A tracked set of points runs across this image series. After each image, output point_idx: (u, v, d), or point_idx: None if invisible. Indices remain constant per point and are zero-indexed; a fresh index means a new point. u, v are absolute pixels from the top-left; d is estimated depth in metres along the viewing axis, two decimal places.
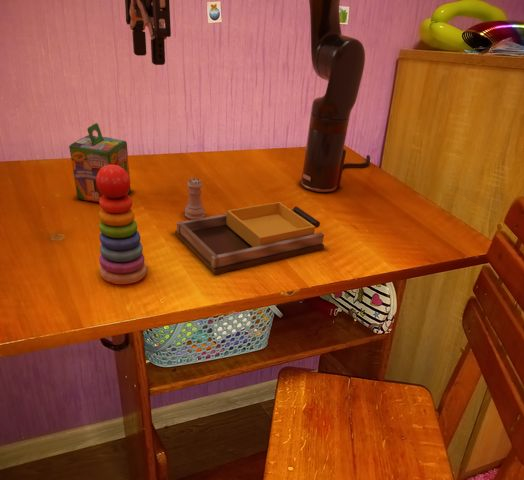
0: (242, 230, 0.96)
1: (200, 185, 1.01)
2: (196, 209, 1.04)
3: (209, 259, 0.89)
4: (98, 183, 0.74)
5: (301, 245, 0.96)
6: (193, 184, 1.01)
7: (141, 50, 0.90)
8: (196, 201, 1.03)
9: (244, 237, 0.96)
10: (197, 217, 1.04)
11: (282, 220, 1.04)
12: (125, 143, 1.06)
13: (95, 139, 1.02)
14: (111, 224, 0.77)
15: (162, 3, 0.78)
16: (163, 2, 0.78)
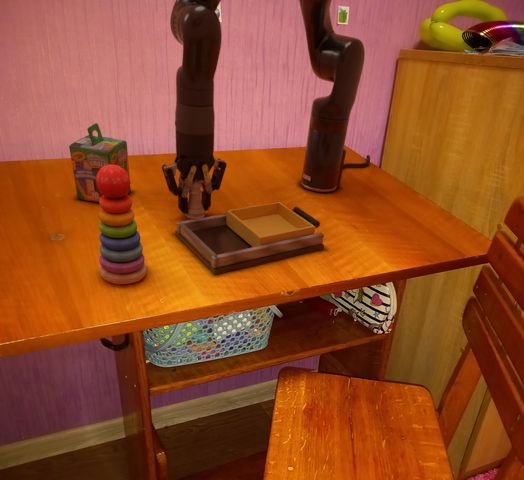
0: (242, 230, 0.96)
1: (200, 185, 1.01)
2: (196, 209, 1.04)
3: (209, 259, 0.89)
4: (98, 183, 0.74)
5: (301, 245, 0.96)
6: (193, 184, 1.01)
7: (203, 206, 1.06)
8: (196, 201, 1.03)
9: (244, 237, 0.96)
10: (197, 217, 1.04)
11: (282, 220, 1.04)
12: (125, 143, 1.06)
13: (95, 139, 1.02)
14: (111, 224, 0.77)
15: (165, 174, 0.97)
16: (165, 174, 0.97)
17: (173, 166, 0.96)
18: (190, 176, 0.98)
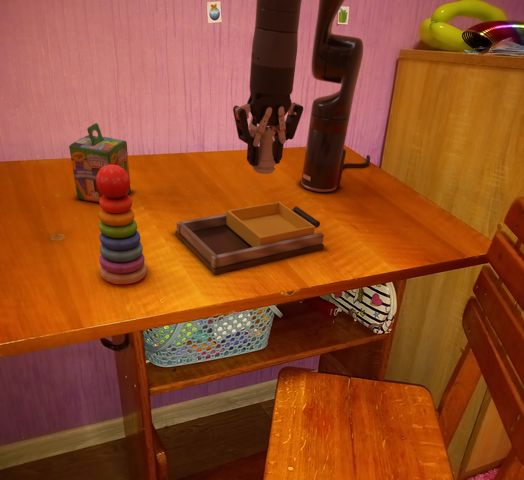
0: (242, 230, 0.96)
1: (274, 132, 0.88)
2: (267, 160, 0.91)
3: (209, 259, 0.89)
4: (98, 183, 0.74)
5: (301, 245, 0.96)
6: (266, 131, 0.88)
7: (274, 158, 0.93)
8: (268, 152, 0.90)
9: (244, 237, 0.96)
10: (267, 170, 0.92)
11: (282, 220, 1.04)
12: (125, 143, 1.06)
13: (95, 139, 1.02)
14: (111, 224, 0.77)
15: (237, 117, 0.84)
16: (237, 116, 0.84)
17: (246, 107, 0.84)
18: (264, 120, 0.86)
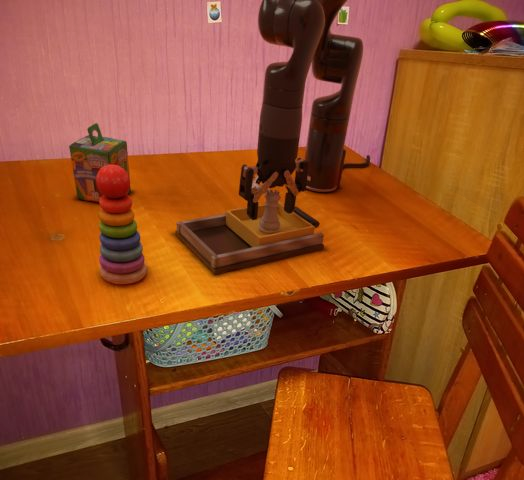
0: (242, 230, 0.96)
1: (279, 197, 0.95)
2: (272, 222, 0.97)
3: (209, 259, 0.89)
4: (98, 183, 0.74)
5: (301, 245, 0.96)
6: (272, 196, 0.94)
7: (287, 208, 0.99)
8: (273, 215, 0.97)
9: (244, 237, 0.96)
10: (273, 231, 0.98)
11: (282, 220, 1.04)
12: (125, 143, 1.06)
13: (95, 139, 1.02)
14: (111, 224, 0.77)
15: (244, 174, 0.89)
16: (244, 174, 0.89)
17: (255, 169, 0.89)
18: (269, 182, 0.91)
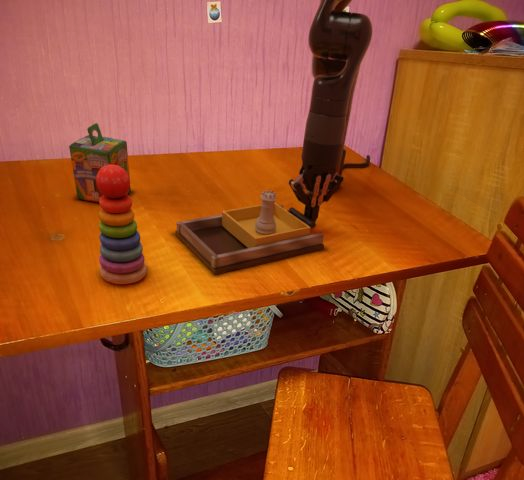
0: (237, 231, 0.96)
1: (275, 198, 0.94)
2: (268, 223, 0.97)
3: (209, 259, 0.89)
4: (98, 183, 0.74)
5: (301, 245, 0.96)
6: (268, 197, 0.94)
7: None
8: (269, 215, 0.96)
9: (239, 238, 0.96)
10: (269, 232, 0.98)
11: (278, 221, 1.04)
12: (125, 143, 1.06)
13: (95, 139, 1.02)
14: (111, 224, 0.77)
15: (294, 189, 0.97)
16: (294, 189, 0.97)
17: (300, 179, 0.96)
18: (316, 186, 0.98)
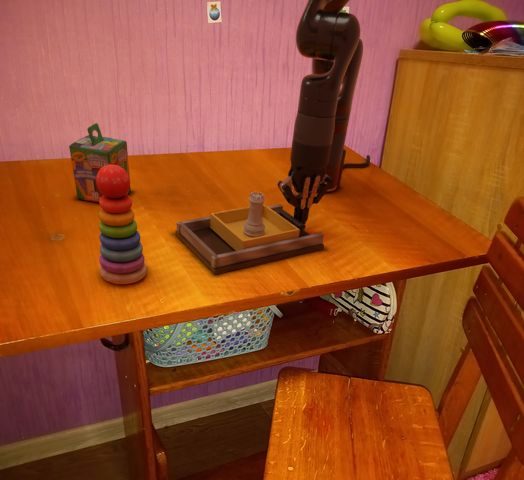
0: (225, 233, 0.95)
1: (263, 200, 0.93)
2: (257, 225, 0.96)
3: (209, 259, 0.89)
4: (98, 183, 0.74)
5: (301, 245, 0.96)
6: (256, 199, 0.93)
7: None
8: (258, 218, 0.95)
9: (227, 240, 0.95)
10: (257, 234, 0.96)
11: (267, 223, 1.02)
12: (125, 143, 1.06)
13: (95, 139, 1.02)
14: (111, 224, 0.77)
15: (282, 191, 0.96)
16: (283, 190, 0.96)
17: (288, 181, 0.95)
18: (305, 188, 0.97)
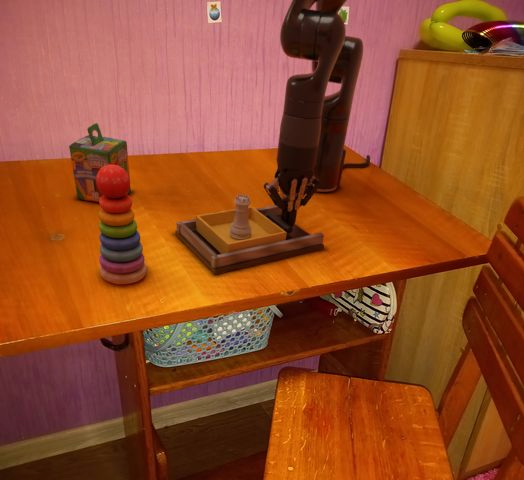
0: (211, 236, 0.93)
1: (249, 202, 0.92)
2: (243, 228, 0.94)
3: (209, 259, 0.89)
4: (98, 183, 0.74)
5: (301, 245, 0.96)
6: (241, 201, 0.91)
7: None
8: (244, 220, 0.94)
9: (213, 243, 0.93)
10: (244, 237, 0.95)
11: (254, 225, 1.01)
12: (125, 143, 1.06)
13: (95, 139, 1.02)
14: (111, 224, 0.77)
15: (269, 193, 0.95)
16: (269, 193, 0.94)
17: (275, 183, 0.93)
18: (292, 190, 0.95)
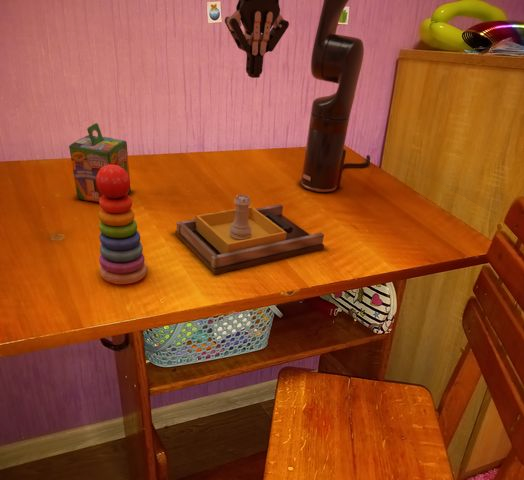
0: (211, 236, 0.93)
1: (249, 202, 0.92)
2: (243, 228, 0.94)
3: (209, 259, 0.89)
4: (98, 183, 0.74)
5: (301, 245, 0.96)
6: (241, 201, 0.91)
7: None
8: (244, 220, 0.94)
9: (213, 243, 0.93)
10: (244, 237, 0.95)
11: (254, 225, 1.01)
12: (125, 143, 1.06)
13: (95, 139, 1.02)
14: (111, 224, 0.77)
15: (230, 28, 0.87)
16: (230, 27, 0.86)
17: (236, 15, 0.86)
18: (256, 26, 0.87)
